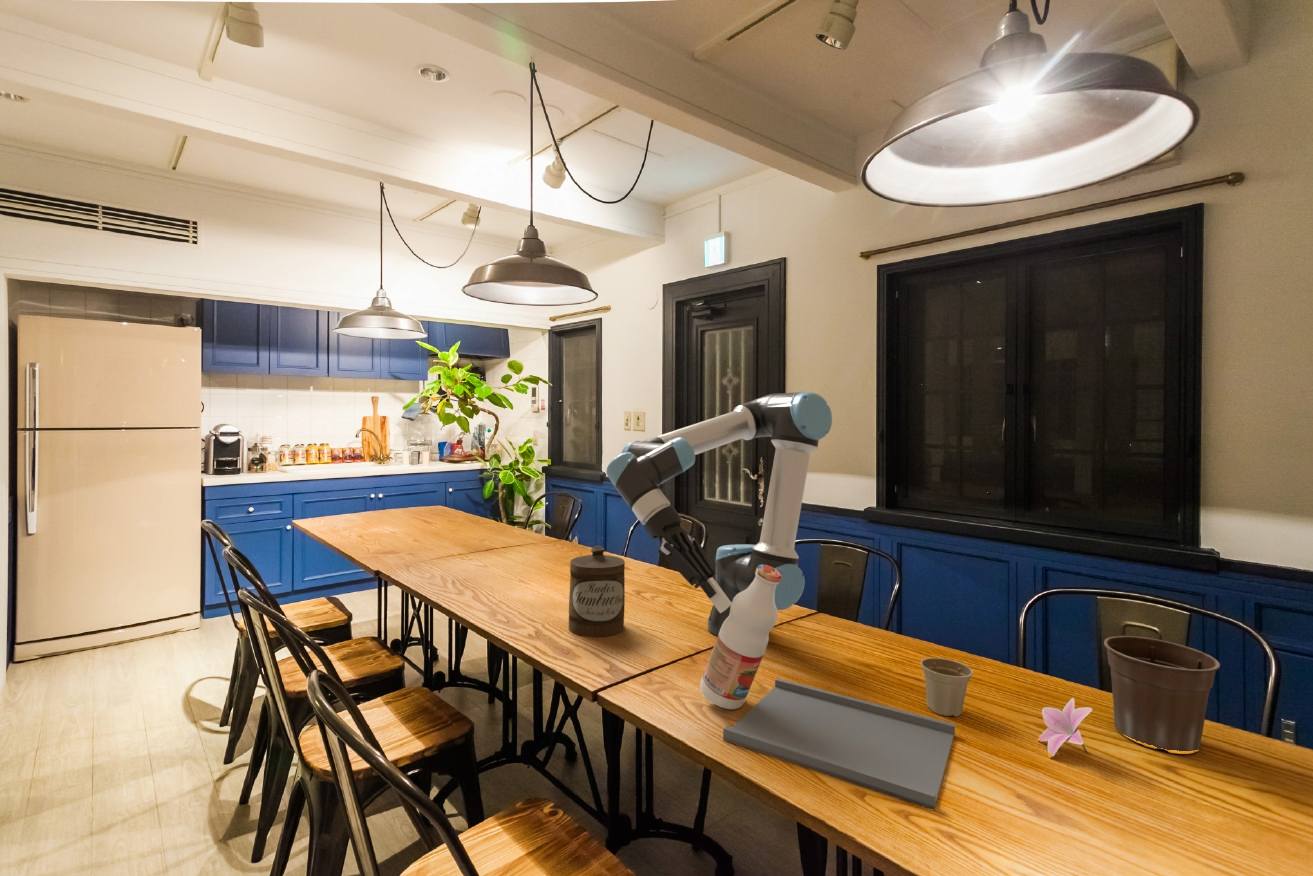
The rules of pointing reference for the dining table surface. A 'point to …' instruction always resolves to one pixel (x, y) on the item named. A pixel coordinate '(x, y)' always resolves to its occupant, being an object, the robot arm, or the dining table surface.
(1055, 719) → the lily
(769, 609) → the fruit juice
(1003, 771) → the dining table surface
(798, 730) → the gray tray
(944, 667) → the flower pot
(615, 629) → the wooden container
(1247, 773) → the dining table surface
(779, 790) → the dining table surface
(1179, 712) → the plant pot
